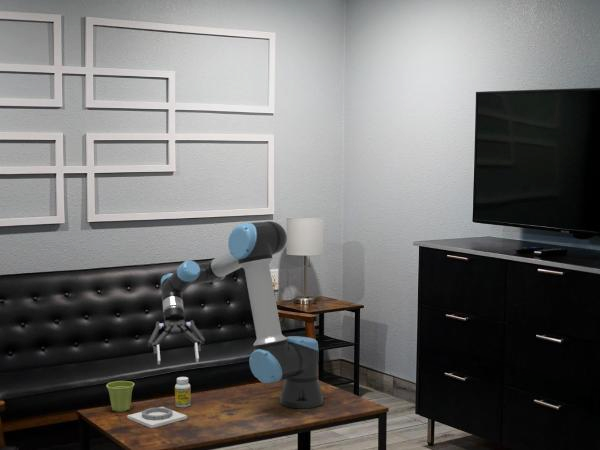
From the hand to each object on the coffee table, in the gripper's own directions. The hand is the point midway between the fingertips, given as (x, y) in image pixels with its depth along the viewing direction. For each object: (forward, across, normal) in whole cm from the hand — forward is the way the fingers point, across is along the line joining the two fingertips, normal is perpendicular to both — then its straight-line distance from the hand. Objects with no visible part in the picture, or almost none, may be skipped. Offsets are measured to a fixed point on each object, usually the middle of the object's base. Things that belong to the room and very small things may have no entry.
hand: (178, 361), depth 315 cm
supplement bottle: (+16, 0, -3) cm, 16 cm away
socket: (+25, +10, +6) cm, 27 cm away
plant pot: (+16, +21, -3) cm, 26 cm away
